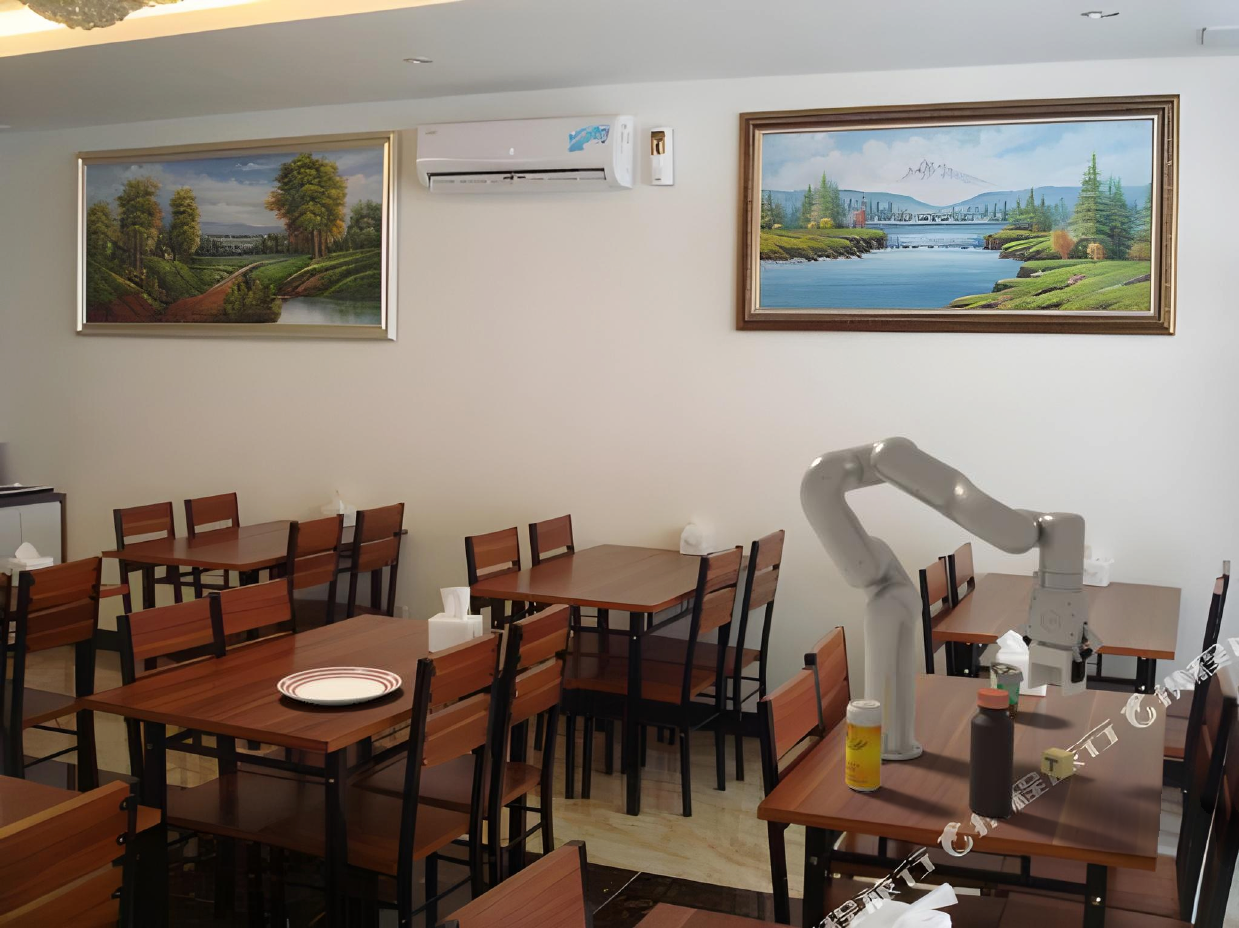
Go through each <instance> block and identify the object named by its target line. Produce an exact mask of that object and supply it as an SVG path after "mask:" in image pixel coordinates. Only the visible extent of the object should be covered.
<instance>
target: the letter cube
mask: <svg viewBox="0 0 1239 928" xmlns="http://www.w3.org/2000/svg"><path fill="white" fill-rule="evenodd" d="M1040 760H1041V761H1040V762H1041V765H1040V766H1041V767H1040V769H1041V770H1040V773H1041V772H1045V773H1046V774H1045V775H1047V774H1050V775H1053V776H1052V777H1054V776H1055V777H1054V778H1057V777H1058V779H1060V780H1061V779H1065V778H1067V777H1069V776H1072V775H1074V764H1075V762H1074V761H1075V752H1073V751H1072V752H1071V751H1067V750H1065V749H1061V748H1056V747H1052V748H1049V749H1046V750H1043V751H1041V759H1040ZM1050 775H1049V776H1050Z"/></svg>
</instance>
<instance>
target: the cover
mask: <svg viewBox="0 0 1239 928" xmlns="http://www.w3.org/2000/svg"><path fill="white" fill-rule="evenodd" d="M1085 648H1088V646H1085ZM1072 661H1075V658H1074V656H1073V651H1071V649H1070V647H1065V646H1059V645H1054V644H1049V643H1044V642H1040V643H1039V644H1032V645H1029V651H1028V664H1027V665H1028V667H1027V669H1028V671H1027V689H1029V690H1032V689H1036V688H1039V687H1043V686H1046V685H1050V684H1052V685H1054V686H1056V685H1057V686H1060V687H1061V694H1060V695H1061V698H1066V697H1069V696H1072V695H1077V694H1079V693H1083V692H1086V691H1087V668H1088V667H1087V666H1088V664H1087V663H1088V660H1086V667H1085V677H1084V680H1083V681H1082V682H1079V683H1072V682H1071V675H1072Z"/></svg>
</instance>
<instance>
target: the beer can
mask: <svg viewBox="0 0 1239 928" xmlns="http://www.w3.org/2000/svg"><path fill="white" fill-rule="evenodd" d="M848 702H849V703H848V704H847V707H846V727H845V729H846V730H845V731H846V732H845V733H846V735H845V784H846V785H847V786H849V787H850V788H853V789H856V790H860V791H873V790H876V789H877V788H878V789H879V787H880V786H881V785H882V759H881V757H882V708H881V706H880V703H879V702H877V701H874V700H869V699H864V698H855V699H851V700H849V701H848ZM849 787H848V788H849ZM850 788H849V789H850ZM878 789H877V790H878ZM877 790H876V791H877Z"/></svg>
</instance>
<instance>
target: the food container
mask: <svg viewBox="0 0 1239 928" xmlns="http://www.w3.org/2000/svg"><path fill="white" fill-rule="evenodd" d="M989 663H990V664H989V674H990V675H989V688H995V689H1001V690H1005V691H1007V692H1008V693H1009V707H1008V710H1007V715H1008V717H1009V718H1011V717H1014V718H1016V717H1017V715H1018V707H1019V699H1020V697H1019V696H1020V690H1021V683H1022V682H1023V681H1024V674H1023V671H1022V669H1021V668H1020V667H1019V666H1017V665H1014V664H1011V663H1005V662H1000V661H990V662H989ZM1015 716H1016V717H1015ZM1011 719H1012V718H1011Z"/></svg>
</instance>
